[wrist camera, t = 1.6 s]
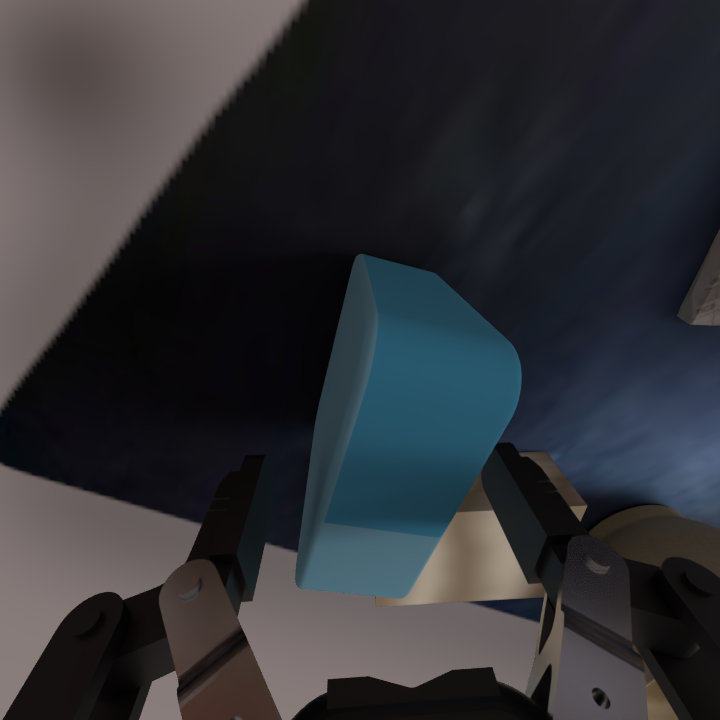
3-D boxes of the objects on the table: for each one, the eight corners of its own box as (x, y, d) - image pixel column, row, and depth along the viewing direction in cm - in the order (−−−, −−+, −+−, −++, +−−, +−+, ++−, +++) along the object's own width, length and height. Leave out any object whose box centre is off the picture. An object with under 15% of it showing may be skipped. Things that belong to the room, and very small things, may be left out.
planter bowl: (696, 567, 34) (833, 714, 25) (542, 592, 36) (614, 742, 26) (744, 459, 27) (966, 608, 17) (547, 495, 28) (652, 654, 18)
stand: (545, 451, 26) (587, 505, 21) (518, 538, 31) (547, 596, 26) (369, 459, 25) (374, 516, 21) (371, 546, 30) (375, 606, 26)
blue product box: (375, 427, 24) (399, 616, 13) (315, 416, 23) (290, 606, 13) (432, 267, 19) (546, 369, 8) (356, 247, 18) (371, 330, 7)
